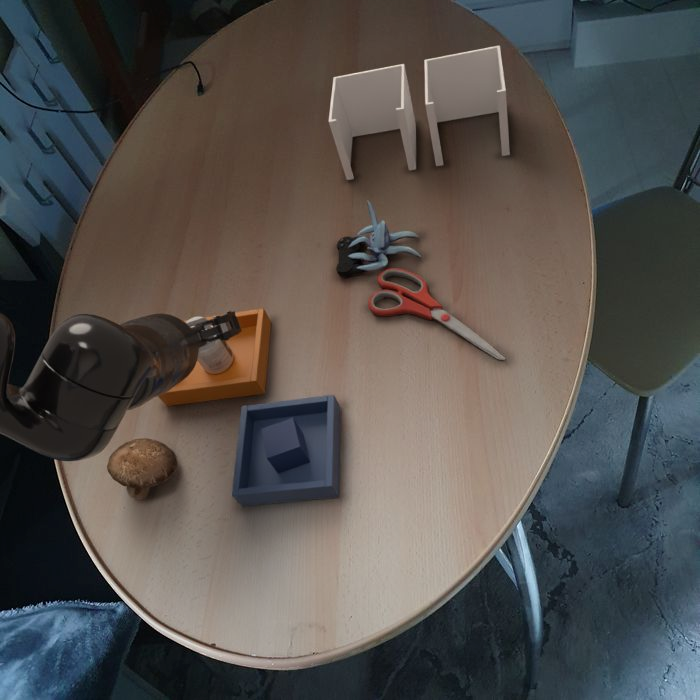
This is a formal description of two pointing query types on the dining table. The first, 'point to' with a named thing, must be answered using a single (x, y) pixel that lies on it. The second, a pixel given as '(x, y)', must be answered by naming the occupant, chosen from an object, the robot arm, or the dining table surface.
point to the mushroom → (142, 465)
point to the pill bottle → (215, 355)
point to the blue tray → (297, 483)
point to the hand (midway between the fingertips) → (189, 337)
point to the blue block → (285, 445)
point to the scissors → (423, 307)
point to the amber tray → (240, 376)
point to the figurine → (378, 246)
